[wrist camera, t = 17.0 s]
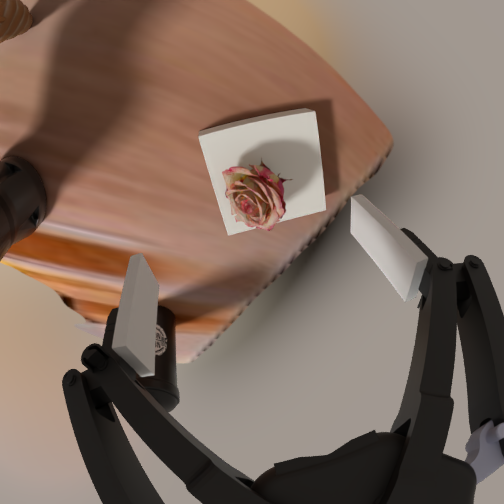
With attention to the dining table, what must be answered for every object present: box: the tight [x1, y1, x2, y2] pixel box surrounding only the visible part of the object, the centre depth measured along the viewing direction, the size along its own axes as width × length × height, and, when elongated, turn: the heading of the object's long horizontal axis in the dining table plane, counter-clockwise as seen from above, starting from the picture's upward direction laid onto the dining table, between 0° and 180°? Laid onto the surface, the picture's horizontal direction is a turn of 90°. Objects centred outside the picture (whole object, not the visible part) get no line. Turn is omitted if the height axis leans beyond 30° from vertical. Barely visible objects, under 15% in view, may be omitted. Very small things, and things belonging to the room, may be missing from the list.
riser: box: [198, 108, 326, 236], centre depth 39 cm, size 16×16×4 cm
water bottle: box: [136, 305, 179, 412], centre depth 47 cm, size 10×10×23 cm
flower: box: [222, 159, 293, 231], centre depth 35 cm, size 10×9×8 cm
